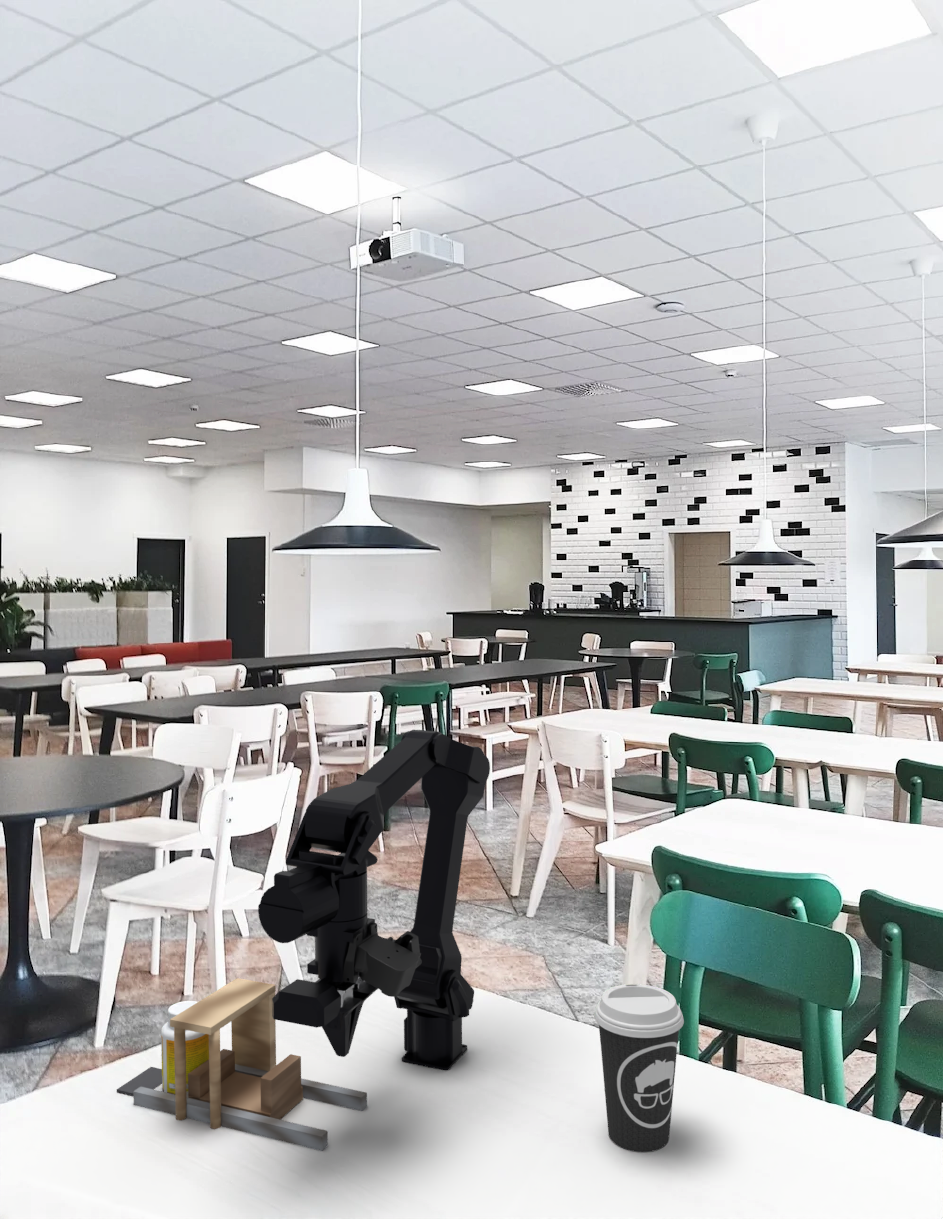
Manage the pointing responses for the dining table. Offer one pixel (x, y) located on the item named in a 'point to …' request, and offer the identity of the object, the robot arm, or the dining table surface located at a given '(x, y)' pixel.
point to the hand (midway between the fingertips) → (342, 1054)
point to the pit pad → (143, 1081)
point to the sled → (251, 1086)
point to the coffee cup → (638, 1063)
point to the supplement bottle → (194, 1049)
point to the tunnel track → (240, 1066)
